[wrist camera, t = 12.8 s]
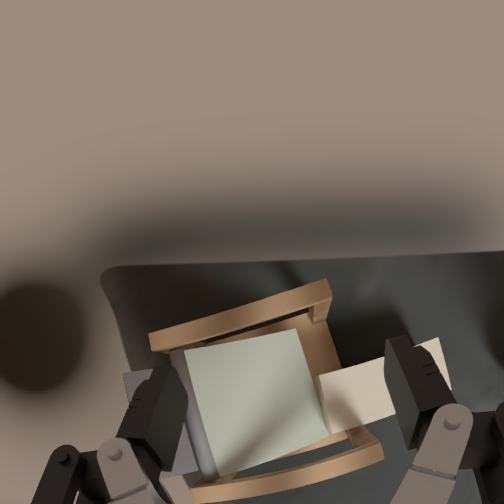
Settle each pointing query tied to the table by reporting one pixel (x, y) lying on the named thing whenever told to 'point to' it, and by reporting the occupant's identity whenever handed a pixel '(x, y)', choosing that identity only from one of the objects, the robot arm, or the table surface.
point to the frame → (319, 362)
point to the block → (362, 392)
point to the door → (242, 403)
